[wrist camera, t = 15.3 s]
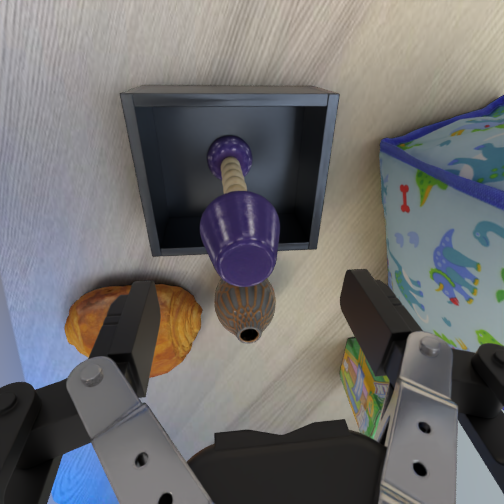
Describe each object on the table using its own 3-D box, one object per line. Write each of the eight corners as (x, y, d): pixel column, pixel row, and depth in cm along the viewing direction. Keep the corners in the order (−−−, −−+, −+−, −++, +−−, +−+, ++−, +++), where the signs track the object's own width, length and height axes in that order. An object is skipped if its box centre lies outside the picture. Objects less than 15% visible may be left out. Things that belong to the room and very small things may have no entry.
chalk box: (404, 331, 46) (475, 433, 33) (390, 369, 51) (446, 471, 38) (345, 336, 45) (394, 443, 33) (336, 374, 50) (376, 479, 38)
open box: (163, 220, 32) (152, 257, 26) (141, 85, 25) (119, 93, 19) (299, 215, 33) (316, 249, 27) (312, 85, 27) (340, 93, 21)
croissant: (74, 263, 36) (29, 308, 29) (204, 272, 36) (190, 319, 29) (99, 347, 43) (68, 399, 37) (207, 355, 43) (196, 408, 36)
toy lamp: (265, 163, 29) (312, 263, 15) (230, 196, 30) (243, 315, 16) (230, 124, 27) (246, 198, 13) (194, 161, 28) (172, 264, 14)
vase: (227, 308, 40) (230, 365, 32) (205, 269, 36) (202, 324, 29) (276, 292, 39) (291, 346, 32) (259, 250, 35) (271, 300, 28)
